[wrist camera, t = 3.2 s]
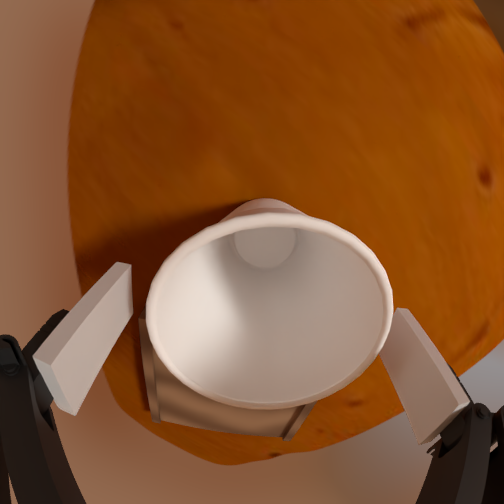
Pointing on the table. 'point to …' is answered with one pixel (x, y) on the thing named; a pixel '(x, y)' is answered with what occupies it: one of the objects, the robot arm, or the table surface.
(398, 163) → the table surface
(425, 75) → the table surface
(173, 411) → the board
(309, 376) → the cup
